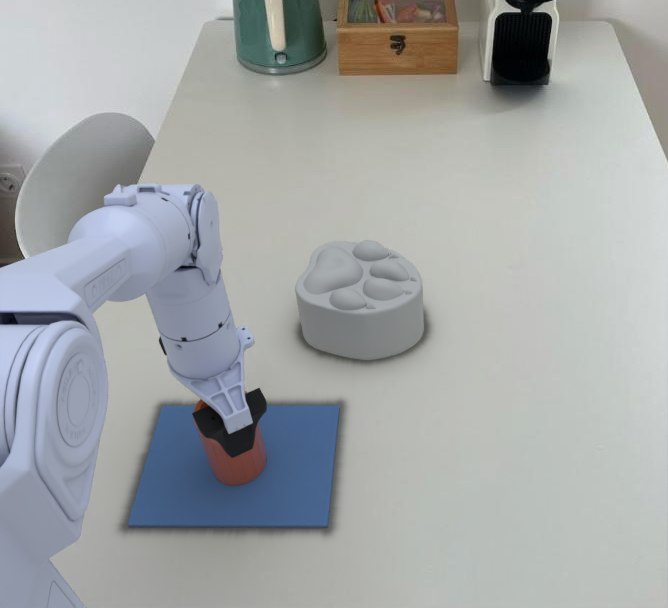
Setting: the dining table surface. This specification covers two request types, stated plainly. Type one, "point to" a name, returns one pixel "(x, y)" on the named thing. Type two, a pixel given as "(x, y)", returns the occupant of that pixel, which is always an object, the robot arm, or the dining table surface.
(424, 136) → the dining table surface
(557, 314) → the dining table surface
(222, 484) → the towel
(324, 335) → the lumpy-topped squat cylinder
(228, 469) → the cup
